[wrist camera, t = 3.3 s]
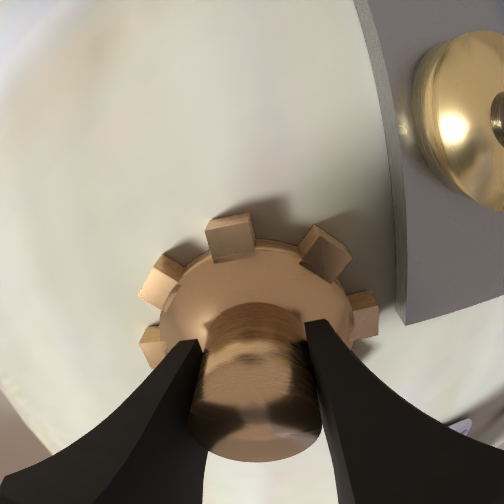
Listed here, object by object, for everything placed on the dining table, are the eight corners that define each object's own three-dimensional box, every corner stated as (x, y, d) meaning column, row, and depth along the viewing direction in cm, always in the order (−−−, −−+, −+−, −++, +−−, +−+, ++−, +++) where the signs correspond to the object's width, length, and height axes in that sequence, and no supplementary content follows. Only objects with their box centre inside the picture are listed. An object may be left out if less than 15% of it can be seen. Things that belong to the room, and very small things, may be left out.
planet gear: (369, 381, 12) (397, 468, 8) (187, 407, 13) (168, 492, 8) (361, 191, 9) (435, 247, 5) (113, 242, 10) (36, 315, 6)
